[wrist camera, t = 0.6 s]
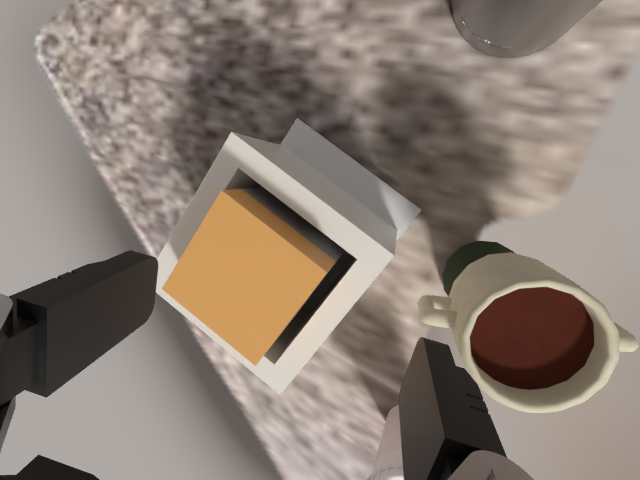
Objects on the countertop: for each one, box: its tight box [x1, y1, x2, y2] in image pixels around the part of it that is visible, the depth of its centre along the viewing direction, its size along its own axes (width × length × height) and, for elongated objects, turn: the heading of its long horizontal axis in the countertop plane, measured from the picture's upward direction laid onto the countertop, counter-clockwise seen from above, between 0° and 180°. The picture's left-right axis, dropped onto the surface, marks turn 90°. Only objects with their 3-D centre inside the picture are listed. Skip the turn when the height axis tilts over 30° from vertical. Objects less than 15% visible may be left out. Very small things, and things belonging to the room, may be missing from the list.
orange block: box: [162, 187, 345, 366], centre depth 23 cm, size 7×7×8 cm
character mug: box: [418, 241, 639, 413], centre depth 23 cm, size 11×7×13 cm, turn 87°
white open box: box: [156, 118, 421, 394], centre depth 27 cm, size 17×13×11 cm
